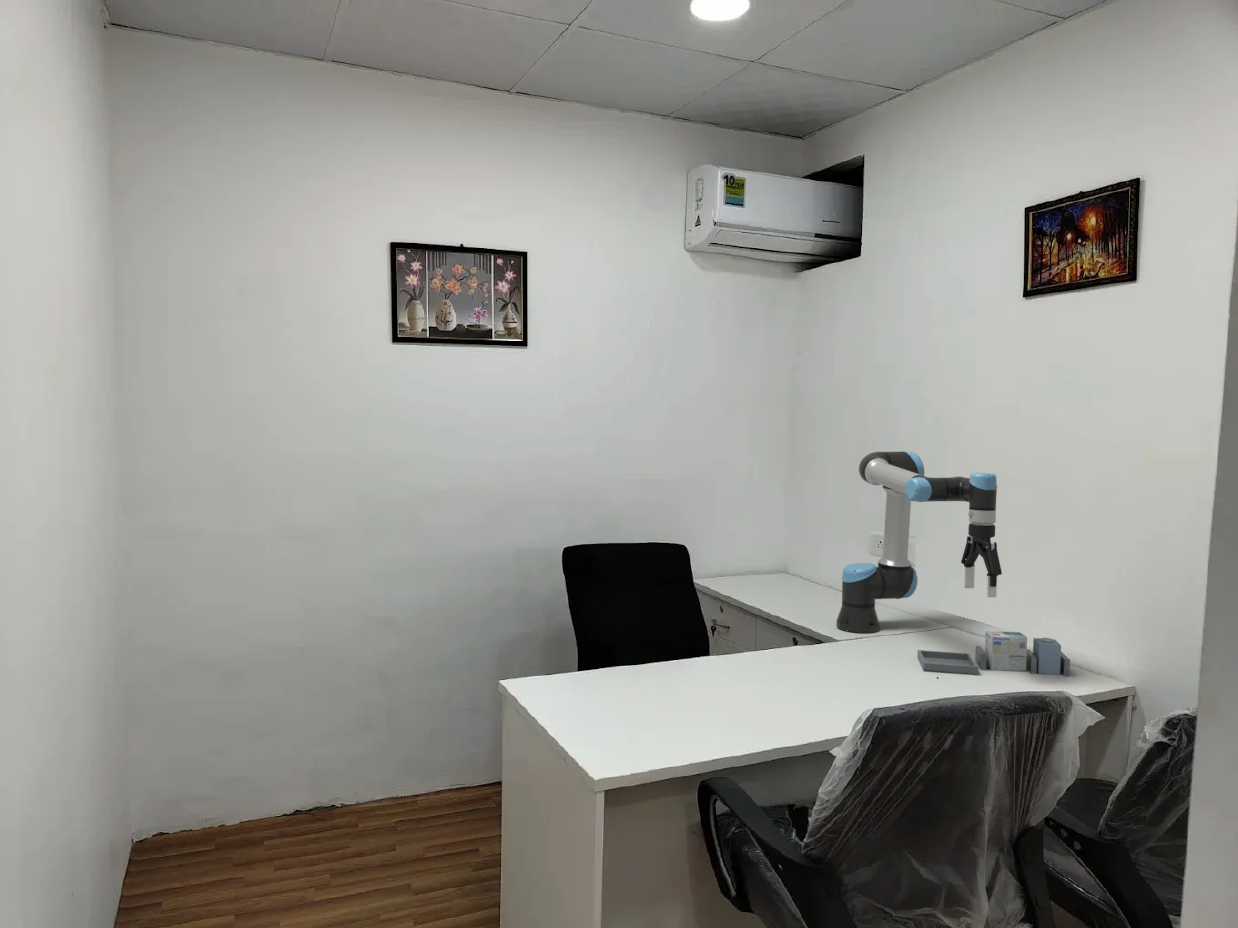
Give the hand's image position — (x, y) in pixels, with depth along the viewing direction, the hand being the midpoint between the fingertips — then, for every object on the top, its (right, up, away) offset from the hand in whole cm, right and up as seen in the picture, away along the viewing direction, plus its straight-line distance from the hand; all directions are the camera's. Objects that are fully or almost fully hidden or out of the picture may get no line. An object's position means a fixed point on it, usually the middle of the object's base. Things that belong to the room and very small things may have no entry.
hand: (979, 592), depth 257 cm
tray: (-8, -24, +4) cm, 25 cm away
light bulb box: (+9, -24, +3) cm, 26 cm away
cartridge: (+21, -24, +1) cm, 32 cm away
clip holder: (+14, -24, +2) cm, 28 cm away
